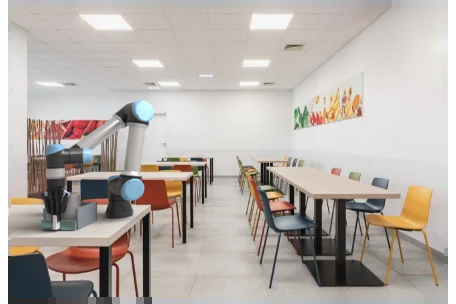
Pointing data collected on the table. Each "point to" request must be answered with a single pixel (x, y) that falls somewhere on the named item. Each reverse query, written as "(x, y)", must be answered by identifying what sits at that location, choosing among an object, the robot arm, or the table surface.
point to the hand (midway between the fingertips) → (56, 228)
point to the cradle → (80, 214)
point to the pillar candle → (71, 206)
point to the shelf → (63, 225)
